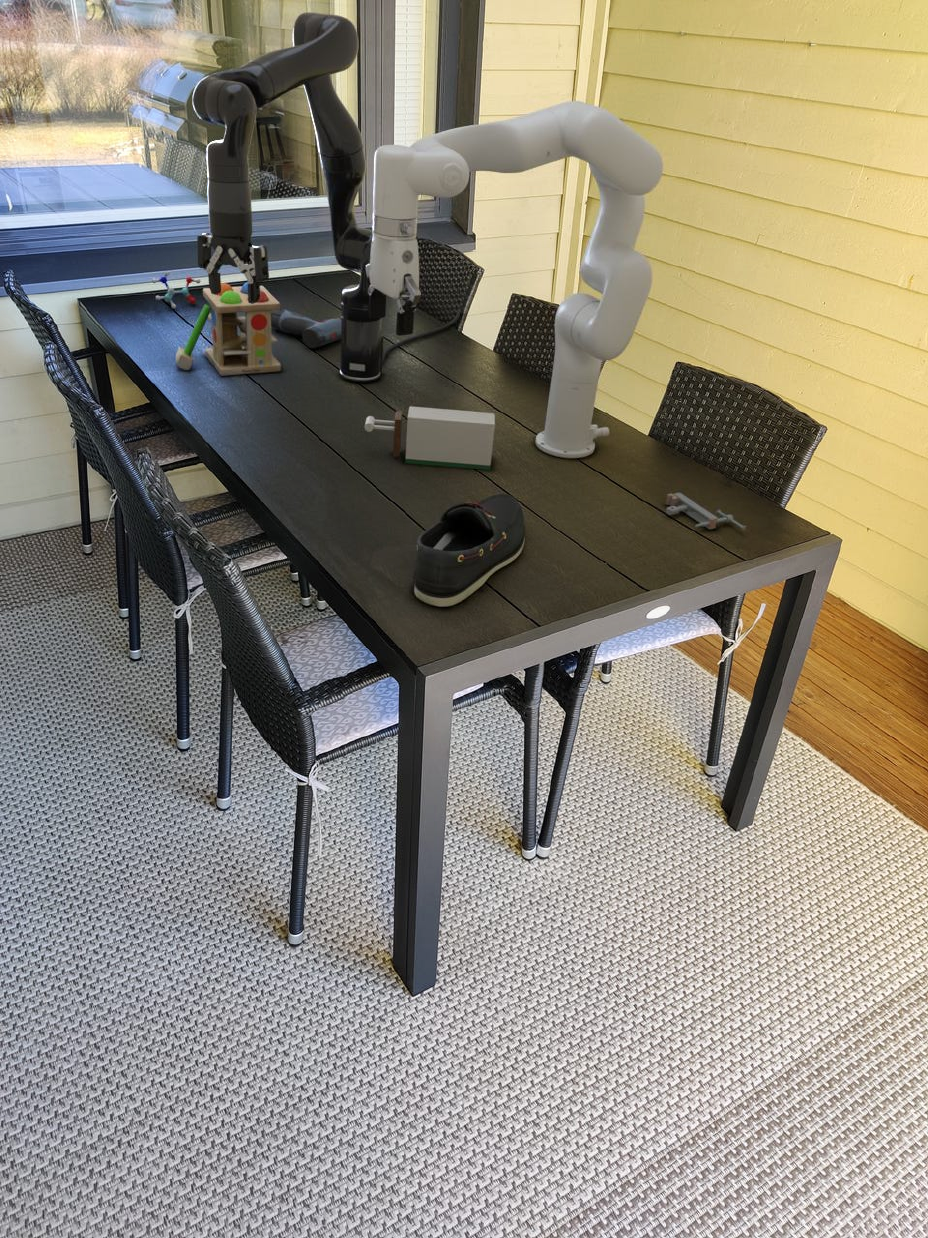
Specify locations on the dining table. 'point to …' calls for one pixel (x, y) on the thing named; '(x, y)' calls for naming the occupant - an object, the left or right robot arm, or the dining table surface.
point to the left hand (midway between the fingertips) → (234, 297)
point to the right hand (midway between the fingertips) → (390, 325)
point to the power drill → (307, 327)
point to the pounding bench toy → (235, 332)
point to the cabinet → (449, 438)
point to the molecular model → (172, 292)
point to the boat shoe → (467, 548)
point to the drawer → (397, 429)
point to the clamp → (677, 506)
